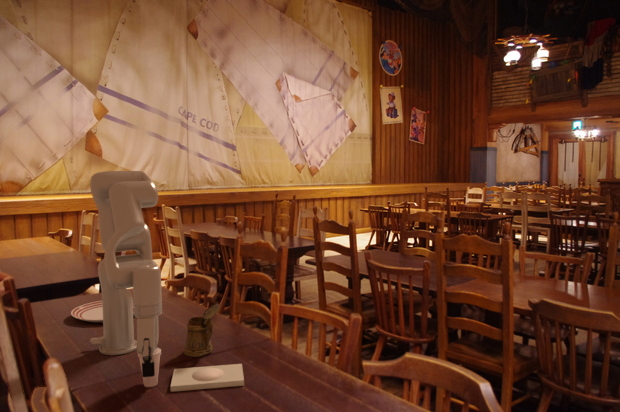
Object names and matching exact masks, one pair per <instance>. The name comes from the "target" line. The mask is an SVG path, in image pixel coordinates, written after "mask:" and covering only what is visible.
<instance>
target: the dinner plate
mask: <svg viewBox="0 0 620 412" xmlns="http://www.w3.org/2000/svg"><path fill="white" fill-rule="evenodd" d="M70 315H71V316H72V317H73V318H75V319H78V320H81V321H85V322H90V323H103V307H102V300H97V301H92V302H89V303H88V302H87V303H83V304H82V305H79V306H77V307H75V308H73V309H72V310H71V312H70ZM133 315H134V300H133Z"/></svg>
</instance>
